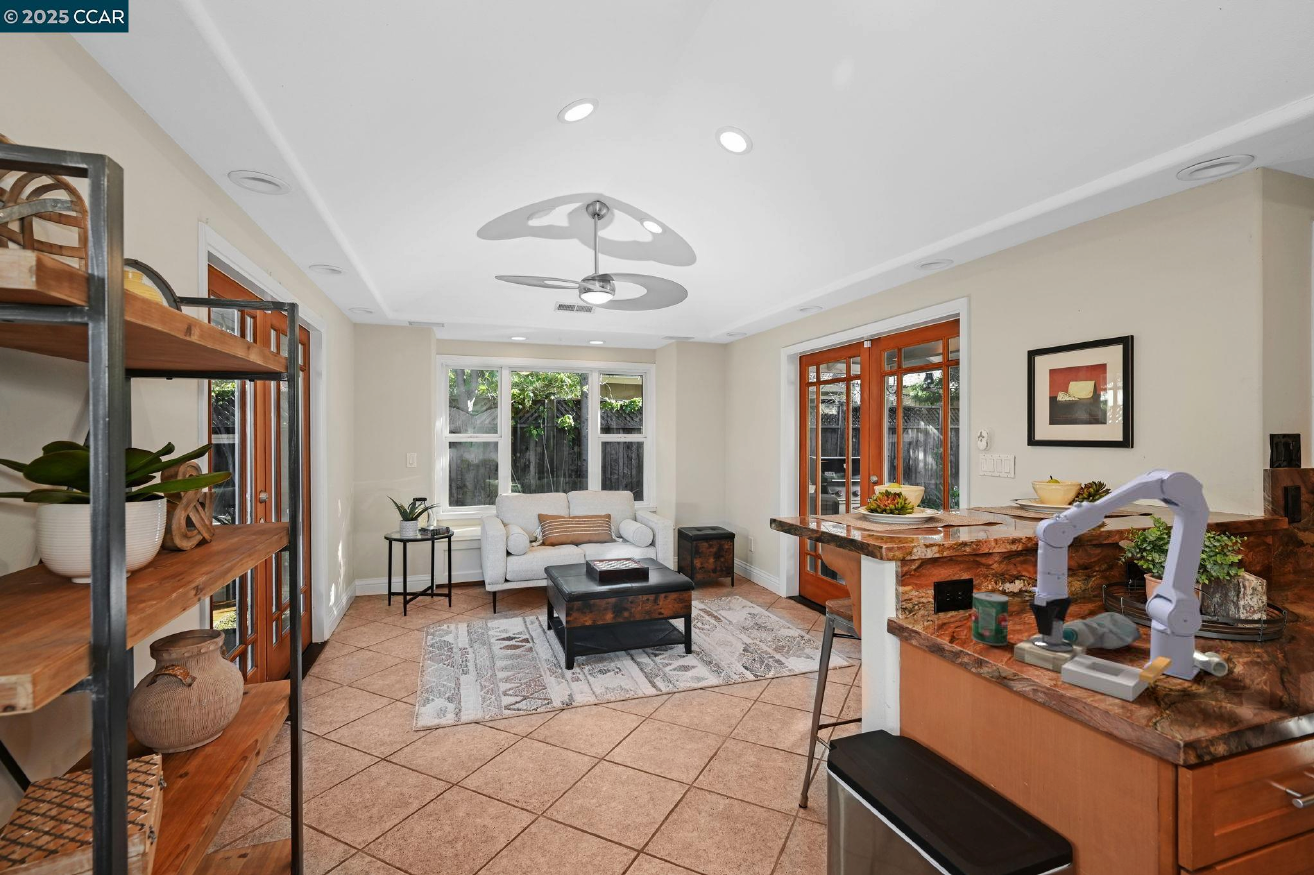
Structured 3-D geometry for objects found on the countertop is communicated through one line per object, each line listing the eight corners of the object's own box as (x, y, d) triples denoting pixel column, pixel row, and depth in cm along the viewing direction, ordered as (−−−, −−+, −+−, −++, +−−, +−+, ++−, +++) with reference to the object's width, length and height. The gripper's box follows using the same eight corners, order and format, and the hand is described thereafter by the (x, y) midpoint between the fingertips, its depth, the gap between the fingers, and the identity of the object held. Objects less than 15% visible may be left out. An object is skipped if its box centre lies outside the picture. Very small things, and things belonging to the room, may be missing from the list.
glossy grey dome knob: (1040, 650, 145) (1041, 612, 144) (1078, 661, 138) (1079, 621, 138) (1025, 657, 140) (1026, 618, 140) (1064, 668, 133) (1065, 628, 133)
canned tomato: (1012, 646, 147) (1013, 601, 146) (977, 643, 148) (978, 599, 148) (1001, 635, 154) (1002, 592, 154) (967, 633, 156) (968, 590, 156)
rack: (1037, 645, 148) (1037, 633, 147) (1085, 658, 140) (1085, 645, 140) (1013, 659, 139) (1014, 646, 139) (1064, 673, 131) (1064, 659, 131)
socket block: (1080, 667, 135) (1080, 653, 134) (1148, 685, 125) (1148, 671, 125) (1061, 680, 127) (1061, 666, 127) (1131, 701, 118) (1132, 686, 118)
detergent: (1093, 631, 158) (1033, 638, 147) (1097, 605, 158) (1038, 609, 147) (1151, 653, 146) (1091, 661, 135) (1156, 624, 146) (1097, 630, 135)
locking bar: (1158, 661, 128) (1159, 656, 128) (1171, 664, 126) (1171, 659, 126) (1139, 679, 118) (1139, 673, 118) (1152, 683, 117) (1152, 677, 117)
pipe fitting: (1210, 665, 138) (1180, 662, 139) (1212, 648, 138) (1181, 645, 139) (1242, 680, 130) (1210, 676, 131) (1244, 662, 130) (1212, 658, 131)
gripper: (1044, 564, 147) (1042, 620, 147) (1020, 573, 137) (1018, 632, 138) (1078, 570, 141) (1076, 628, 141) (1055, 579, 132) (1054, 641, 132)
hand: (1050, 631), depth 139 cm, fingers open, 7 cm apart
